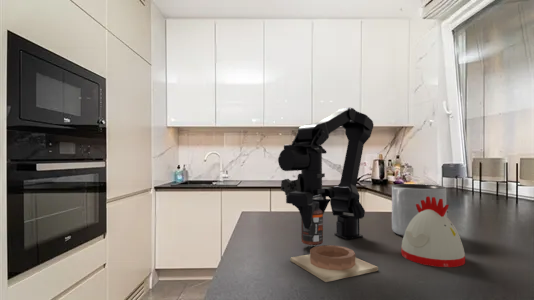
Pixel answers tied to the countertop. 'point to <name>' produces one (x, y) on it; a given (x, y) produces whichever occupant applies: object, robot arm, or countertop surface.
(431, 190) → the planter
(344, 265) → the collar stand
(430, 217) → the kitchen timer
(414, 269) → the countertop surface
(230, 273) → the countertop surface
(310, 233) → the supplement bottle
